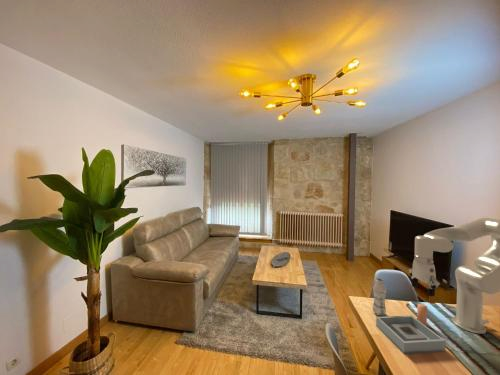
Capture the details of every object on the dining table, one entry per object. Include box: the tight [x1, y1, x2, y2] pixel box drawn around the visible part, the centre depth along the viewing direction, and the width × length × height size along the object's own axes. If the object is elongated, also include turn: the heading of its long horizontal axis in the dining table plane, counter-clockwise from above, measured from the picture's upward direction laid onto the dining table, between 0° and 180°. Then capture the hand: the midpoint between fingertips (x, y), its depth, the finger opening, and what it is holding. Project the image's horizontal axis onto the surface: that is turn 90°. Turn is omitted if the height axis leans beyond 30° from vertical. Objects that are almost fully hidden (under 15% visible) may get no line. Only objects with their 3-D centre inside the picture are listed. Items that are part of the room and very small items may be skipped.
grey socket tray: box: [375, 314, 446, 355], centre depth 103 cm, size 20×18×5 cm
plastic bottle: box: [372, 278, 387, 317], centre depth 122 cm, size 6×7×20 cm
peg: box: [416, 303, 428, 327], centre depth 113 cm, size 4×4×10 cm
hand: (422, 290), depth 113 cm, fingers open, 9 cm apart
